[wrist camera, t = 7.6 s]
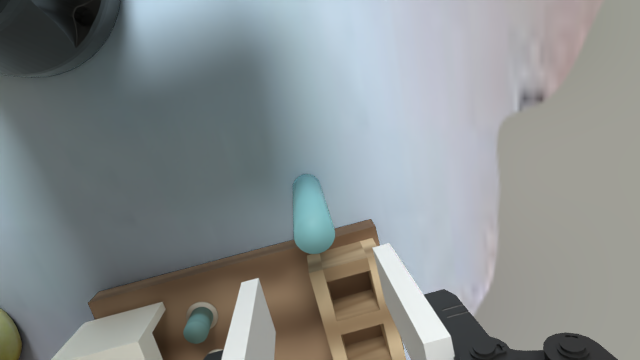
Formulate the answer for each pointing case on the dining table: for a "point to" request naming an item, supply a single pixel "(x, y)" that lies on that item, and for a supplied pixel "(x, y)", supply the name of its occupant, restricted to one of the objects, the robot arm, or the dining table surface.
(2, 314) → the mug
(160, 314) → the cover
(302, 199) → the peg
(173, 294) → the board
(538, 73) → the dining table surface
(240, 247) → the dining table surface
